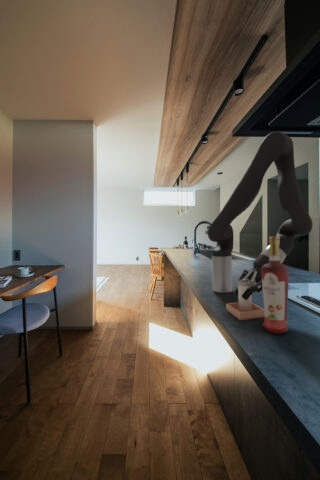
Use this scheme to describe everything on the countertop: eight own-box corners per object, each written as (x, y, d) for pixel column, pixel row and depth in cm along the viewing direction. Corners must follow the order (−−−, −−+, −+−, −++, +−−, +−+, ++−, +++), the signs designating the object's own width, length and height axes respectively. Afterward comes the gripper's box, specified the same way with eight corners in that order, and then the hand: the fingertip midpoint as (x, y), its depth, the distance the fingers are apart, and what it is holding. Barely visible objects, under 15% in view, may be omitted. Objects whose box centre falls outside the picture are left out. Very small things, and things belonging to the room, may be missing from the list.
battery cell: (236, 308, 82) (235, 278, 82) (247, 306, 83) (246, 277, 83) (243, 312, 78) (242, 281, 77) (254, 311, 79) (253, 280, 78)
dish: (226, 310, 84) (226, 303, 84) (249, 307, 86) (249, 301, 86) (240, 320, 75) (240, 313, 75) (265, 317, 77) (265, 309, 77)
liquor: (293, 330, 67) (292, 236, 65) (284, 339, 62) (283, 237, 60) (267, 323, 72) (266, 236, 71) (257, 331, 67) (256, 237, 66)
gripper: (250, 251, 88) (223, 284, 86) (276, 255, 74) (244, 295, 72) (263, 264, 89) (236, 297, 87) (290, 270, 75) (259, 309, 74)
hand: (239, 296), depth 80 cm, fingers closed on battery cell, 4 cm apart
